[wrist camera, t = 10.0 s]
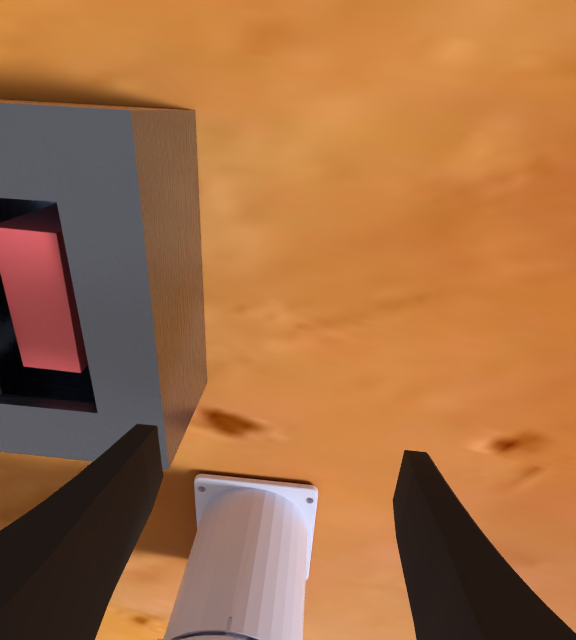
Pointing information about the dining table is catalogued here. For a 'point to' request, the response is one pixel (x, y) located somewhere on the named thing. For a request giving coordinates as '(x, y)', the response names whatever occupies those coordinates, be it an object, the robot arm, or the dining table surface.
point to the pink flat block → (41, 291)
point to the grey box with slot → (108, 274)
